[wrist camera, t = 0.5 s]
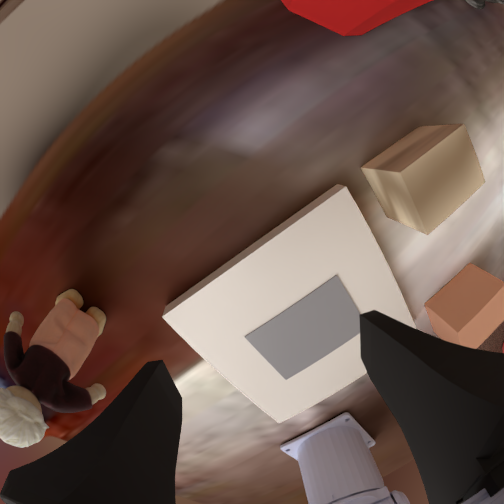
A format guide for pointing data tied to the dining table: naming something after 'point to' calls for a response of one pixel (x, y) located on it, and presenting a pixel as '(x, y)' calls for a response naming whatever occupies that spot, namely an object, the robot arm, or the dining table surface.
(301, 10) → the french fries
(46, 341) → the grandmother figurine
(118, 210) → the dining table surface
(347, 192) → the tower plate
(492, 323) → the terracotta brick
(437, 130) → the birch brick
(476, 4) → the grey stone statuette
